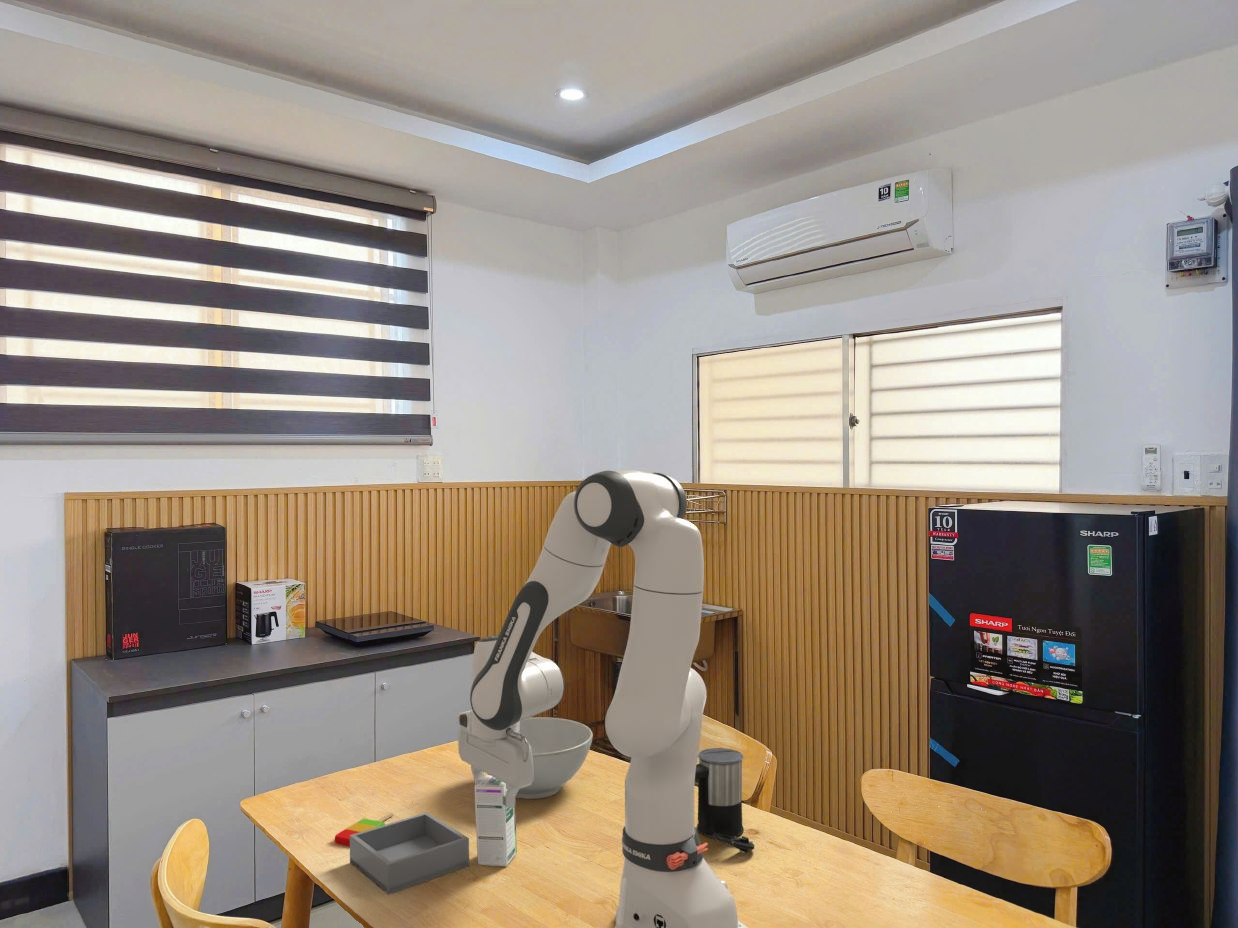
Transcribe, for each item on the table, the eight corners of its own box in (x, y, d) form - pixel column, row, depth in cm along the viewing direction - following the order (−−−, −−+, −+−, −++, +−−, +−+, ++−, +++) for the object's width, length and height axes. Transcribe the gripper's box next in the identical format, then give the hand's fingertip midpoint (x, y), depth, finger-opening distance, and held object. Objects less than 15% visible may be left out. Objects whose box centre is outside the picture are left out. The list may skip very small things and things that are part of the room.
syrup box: (507, 866, 154) (505, 786, 154) (476, 864, 155) (473, 784, 155) (517, 852, 160) (515, 774, 160) (487, 851, 161) (485, 773, 161)
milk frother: (716, 815, 176) (715, 743, 176) (782, 838, 165) (781, 761, 165) (671, 838, 166) (671, 761, 166) (738, 863, 155) (738, 781, 155)
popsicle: (331, 845, 165) (331, 835, 165) (381, 815, 179) (381, 806, 179) (354, 850, 163) (354, 840, 163) (403, 819, 177) (403, 810, 177)
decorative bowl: (485, 766, 206) (485, 716, 206) (596, 767, 205) (596, 717, 205) (460, 812, 179) (460, 754, 179) (588, 813, 178) (588, 754, 178)
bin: (469, 865, 155) (468, 837, 155) (388, 894, 145) (388, 864, 145) (427, 837, 167) (426, 812, 167) (350, 862, 156) (349, 835, 157)
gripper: (542, 733, 152) (541, 810, 152) (481, 706, 167) (480, 777, 167) (512, 740, 148) (511, 820, 148) (452, 712, 163) (451, 785, 163)
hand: (494, 797), depth 158 cm, fingers open, 8 cm apart
